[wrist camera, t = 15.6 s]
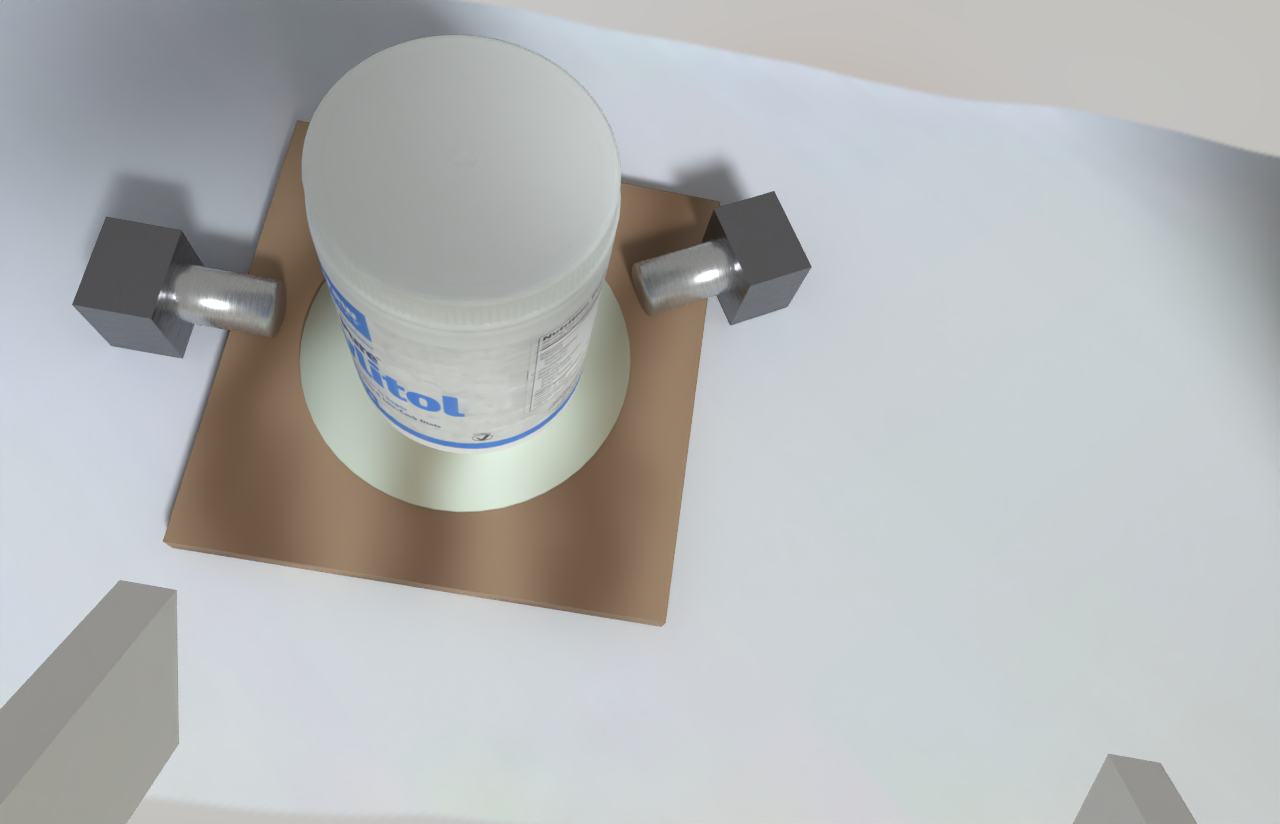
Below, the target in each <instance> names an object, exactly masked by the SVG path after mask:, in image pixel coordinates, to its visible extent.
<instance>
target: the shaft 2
mask: <svg viewBox="0 0 1280 824" xmlns="http://www.w3.org/2000/svg"><path fill="white" fill-rule="evenodd" d="M702 242H703V243H701V244H698V245H694V246H691V247H688V248H684V249H681V250H678V251H674V252H671V253H668V254H664V255H661V256H658V257H654V258H651V259H648V260H645V261H641V262H638V263H635V264H633V267H632V278H633V284H634V288H635V292H636V295H637V298H638V300H639V303H640V305H641V307H642V309H643V310H644V312H645V313H646V314H647V315H648V316H652V315H655V314H658V313H661V312H665V311H668V310H671V309H674V308H677V307H680V306H684V305H687V304H690V303H693V302H696V301H699V300H703V299H706V298H709V297H712V296H715V295H717V297H718V299H719V301H720V303H721V306H722V308H723V310H724V312H725V314H726V316H727V319H728V321H729V323H730V325H733V324H736V323H739V322H742V321H745V320H749V319H752V318H755V317H758V316H761V315H764V314H767V313H770V312H773V311H776V310H779V309H782V308H785V307H788V305H789V303H790V302H791V300H792V298H793V297H794V295H795V293H796V292H797V290H798V288H799V287H800V285H801V284H802V282H803V280H804V279H805V277H806V275H807V274H808V272H809V270H810V269H811V265H810V263H809V261H808V259H807V257H806V255H805V253H804V251H803V249H802V247H801V244H800V242H799V240H798V238H797V236H796V234H795V232H794V230H793V228H792V226H791V224H790V222H789V220H788V218H787V216H786V214H785V212H784V210H783V208H782V206H781V204H780V202H779V200H778V198H777V196H776V194H775V192H774V191H773V192H770V193H766V194H763V195H759V196H756V197H752V198H749V199H746V200H742V201H739V202H735V203H732V204H729V205H725V206H722V207H718V208H715V209H713V212H712V215H711V218H710V220H709V223H708V226H707V229H706V231H705V234H704V237H703V239H702Z"/></svg>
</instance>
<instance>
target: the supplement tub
mask: <svg viewBox="0 0 1280 824" xmlns="http://www.w3.org/2000/svg"><path fill="white" fill-rule="evenodd" d="M302 182H303V187H304V193H305V205H306V213H307V221H308V225H309V229H310V233H311V236H312V239H313V243H314V246H315V249H316V253H317V256H318V259H319V262H320V265H321V268H322V271H323V274H324V277H325V280H326V282H327V285H328V288H329V291H330V294H331V297H332V300H333V303H334V306H335V309H336V312H337V315H338V317H339V320H340V323H341V326H342V329H343V332H344V335H345V338H346V341H347V343H348V346H349V349H350V352H351V355H352V358H353V361H354V365H355V367H356V369H357V372H358V375H359V378H360V380H361V382H362V385H363V388H364V390H365V392H366V394H367V396H368V398H369V399H370V401H371V403H372V404H373V405H374V407H375V408H376V409H377V411H378V412H379V413H380V414H381V416H382V417H383V418H384V419H385V420H386V421H387V422H388V423H389V424H390V425H391V426H393V427H394V428H395V429H396V430H398V431H399V432H401V433H402V434H404V435H405V436H407V437H409V438H410V439H412V440H414V441H416V442H418V443H420V444H423V445H426V446H428V447H431V448H434V449H438V450H442V451H446V452H452V453H460V454H487V453H494V452H499V451H503V450H506V449H509V448H512V447H515V446H518V445H520V444H522V443H524V442H527V441H528V440H530V439H532V438H533V437H535V436H537V435H538V434H540V433H541V432H543V431H544V430H545V429H546V428H548V427H549V426H550V425H551V424H552V423H553V422H554V421H555V420H556V419H557V418H558V417H559V416H560V415H561V414H562V412H563V411H564V410H565V409H566V407H567V405H568V404H569V402H570V401H571V399H572V397H573V395H574V393H575V391H576V389H577V386H578V384H579V381H580V378H581V374H582V371H583V367H584V362H585V358H586V354H587V350H588V346H589V342H590V338H591V334H592V330H593V326H594V322H595V318H596V314H597V310H598V306H599V302H600V297H601V293H602V289H603V285H604V281H605V277H606V273H607V269H608V264H609V260H610V256H611V252H612V248H613V243H614V239H615V234H616V229H617V225H618V221H619V216H620V203H621V193H620V187H621V164H620V157H619V151H618V147H617V144H616V141H615V138H614V134H613V131H612V129H611V127H610V124H609V122H608V121H607V119H606V117H605V115H604V113H603V112H602V110H601V108H600V107H599V105H598V104H597V103H596V101H595V100H594V99H593V97H592V96H591V95H590V94H589V93H588V91H587V90H586V89H585V88H584V87H583V86H582V85H581V84H580V83H579V82H578V81H577V80H576V79H575V78H573V77H572V76H571V75H570V74H569V73H567V72H566V71H565V70H564V69H562V68H561V67H559V66H558V65H556V64H555V63H553V62H551V61H550V60H548V59H547V58H545V57H543V56H541V55H539V54H537V53H535V52H533V51H531V50H528V49H526V48H523V47H521V46H518V45H515V44H512V43H508V42H505V41H502V40H498V39H493V38H487V37H480V36H473V35H438V36H431V37H424V38H418V39H414V40H410V41H406V42H403V43H400V44H397V45H394V46H391V47H389V48H386V49H384V50H382V51H380V52H377V53H375V54H373V55H372V56H370V57H368V58H367V59H365V60H364V61H362V62H360V63H359V64H357V65H356V66H355V67H354V68H352V69H351V70H349V71H348V72H347V73H346V74H345V75H344V76H343V77H341V78H340V79H339V80H338V81H337V82H336V83H335V84H334V85H333V87H332V88H331V89H330V90H329V91H328V93H327V94H326V95H325V96H324V98H323V99H322V101H321V102H320V104H319V106H318V107H317V109H316V111H315V113H314V114H313V117H312V119H311V122H310V124H309V127H308V130H307V134H306V137H305V141H304V146H303V153H302Z"/></svg>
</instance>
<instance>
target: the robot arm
mask: <svg viewBox="0 0 1280 824" xmlns="http://www.w3.org/2000/svg"><path fill="white" fill-rule="evenodd" d="M178 744H179V727H178V656H177V590H173V589H167V588H162V587H156V586H150V585H145V584H139V583H133V582H128V581H122V580H120V581H119V582H118V583H117V584H116V585H115V586H114V587H113V588H112V589H111V590H110V591H109V593H108V594H107V595H106V596H105V597H104V598H103V599H102V600H101V601H100V602H99V603H98V604H97V605H96V607H95V608H94V609H93V610H92V611H91V612H90V613H89V614H88V615H87V616H86V617H85V618H84V620H83V621H82V622H81V623H80V624H79V625H78V626H77V627H76V628H75V629H74V630H73V631H72V632H71V634H70V635H69V636H68V637H67V638H66V639H65V640H64V641H63V642H62V643H61V644H60V645H59V647H58V648H57V649H56V650H55V651H54V652H53V653H52V654H51V655H50V656H49V657H48V658H47V659H46V661H45V662H44V663H43V664H42V665H41V666H40V667H39V668H38V669H37V670H36V671H35V672H34V674H33V675H32V676H31V677H30V678H29V679H28V680H27V681H26V682H25V683H24V684H23V685H22V686H21V688H20V689H19V690H18V691H17V692H16V693H15V694H14V695H13V696H12V697H11V698H10V699H9V701H8V702H7V703H6V704H5V705H4V706H3V707H2V708H1V709H0V824H126V823H127V821H128V820H129V819H130V817H131V816H132V814H133V812H134V811H135V809H136V808H137V806H138V805H139V803H140V802H141V800H142V799H143V797H144V796H145V794H146V793H147V791H148V790H149V788H150V787H151V785H152V783H153V782H154V780H155V779H156V777H157V776H158V774H159V773H160V771H161V770H162V768H163V767H164V765H165V764H166V762H167V761H168V759H169V757H170V756H171V754H172V753H173V751H174V750H175V748H176V747H177V745H178ZM1073 824H1197V822H1196V821H1195V819H1194V818H1193V816H1192V814H1191V813H1190V811H1189V809H1188V808H1187V806H1186V804H1185V803H1184V801H1183V799H1182V798H1181V796H1180V794H1179V793H1178V791H1177V789H1176V788H1175V786H1174V784H1173V783H1172V781H1171V779H1170V778H1169V776H1168V774H1167V773H1166V771H1165V769H1164V768H1163V766H1162V765H1161V763H1158V762H1152V761H1146V760H1140V759H1135V758H1129V757H1123V756H1118V755H1112V754H1108V756H1107V758H1106V760H1105V762H1104V764H1103V765H1102V767H1101V769H1100V771H1099V773H1098V775H1097V777H1096V779H1095V781H1094V783H1093V785H1092V787H1091V789H1090V791H1089V793H1088V795H1087V797H1086V799H1085V801H1084V803H1083V805H1082V807H1081V809H1080V811H1079V813H1078V815H1077V817H1076V819H1075V821H1074V823H1073Z"/></svg>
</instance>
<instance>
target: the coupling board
mask: <svg viewBox="0 0 1280 824" xmlns="http://www.w3.org/2000/svg"><path fill="white" fill-rule="evenodd" d="M309 124H310V123H308V122H303V121H297V123H296V126H295V129H294V132H293V135H292V139H291V142H290V145H289V148H288V151H287V154H286V157H285V160H284V164H283V167H282V170H281V173H280V176H279V179H278V182H277V185H276V189H275V192H274V195H273V198H272V201H271V204H270V207H269V210H268V214H267V217H266V220H265V223H264V226H263V229H262V232H261V236H260V239H259V242H258V245H257V248H256V251H255V254H254V257H253V261H252V264H251V267H250V270H249V273H248V275H252V276H257V277H263V278H268V279H274V280H279V281H283V282H284V284H285V287H286V295H287V300H286V310H285V316H284V320H283V323H282V326H281V328H280V331H279V332H278V334H277V335H276V336H275V337H274V338H270V337H264V336H259V335H253V334H247V333H242V332H236V331H231V330H230V333H229V336H228V339H227V342H226V345H225V348H224V351H223V354H222V358H221V361H220V364H219V367H218V370H217V373H216V376H215V380H214V383H213V386H212V389H211V392H210V395H209V398H208V401H207V405H206V408H205V411H204V414H203V417H202V420H201V423H200V426H199V430H198V433H197V436H196V439H195V442H194V445H193V448H192V452H191V455H190V458H189V461H188V464H187V467H186V470H185V473H184V477H183V480H182V483H181V486H180V489H179V492H178V495H177V498H176V502H175V505H174V508H173V511H172V514H171V517H170V520H169V523H168V527H167V530H166V533H165V536H164V539H163V542H165V543H166V544H168V545H169V546H171V547H172V548H178V549H184V550H190V551H196V552H203V553H209V554H215V555H221V556H227V557H234V558H240V559H246V560H252V561H258V562H264V563H271V564H277V565H283V566H289V567H295V568H302V569H308V570H314V571H320V572H326V573H333V574H339V575H345V576H351V577H357V578H364V579H370V580H376V581H382V582H388V583H395V584H401V585H407V586H413V587H419V588H426V589H432V590H438V591H444V592H450V593H457V594H463V595H469V596H475V597H481V598H487V599H494V600H500V601H506V602H512V603H518V604H525V605H531V606H537V607H543V608H549V609H556V610H562V611H568V612H574V613H580V614H587V615H593V616H599V617H605V618H611V619H618V620H624V621H630V622H636V623H642V624H649V625H655V626H662V625H664V624H665V623H666V616H667V608H668V600H669V593H670V585H671V577H672V569H673V562H674V554H675V546H676V539H677V531H678V523H679V515H680V508H681V500H682V492H683V484H684V477H685V469H686V461H687V454H688V446H689V438H690V430H691V423H692V415H693V407H694V400H695V392H696V384H697V376H698V369H699V361H700V353H701V346H702V338H703V330H704V322H705V315H706V307H707V299H708V298H706V299H703V300H699V301H696V302H693V303H690V304H687V305H684V306H680V307H677V308H674V309H671V310H668V311H665V312H661V313H658V314H655V315H652V316H648V315H647V314H646V313H645V312H644V310H643V309H642V307H641V305H640V303H639V300H638V298H637V295H636V292H635V288H634V284H633V278H632V267H633V264H635V263H638V262H641V261H645V260H648V259H651V258H654V257H658V256H661V255H664V254H668V253H671V252H674V251H678V250H681V249H684V248H688V247H691V246H694V245H698V244H701V243H703V242H702V239H703V237H704V234H705V231H706V229H707V226H708V223H709V220H710V218H711V215H712V212H713V209H715V208H718V207H720V202H719V201H713V200H708V199H703V198H698V197H693V196H687V195H682V194H677V193H672V192H667V191H661V190H656V189H651V188H646V187H641V186H635V185H630V184H625V183H621V187H620V193H621V203H620V216H619V221H618V225H617V229H616V234H615V239H614V243H613V248H612V252H611V256H610V260H609V264H608V269H607V273H606V277H605V281H604V285H603V289H602V293H601V297H600V302H599V306H598V310H597V314H596V318H595V322H594V326H593V330H592V334H591V338H590V342H589V346H588V350H587V354H586V358H585V362H584V367H583V371H582V374H581V378H580V381H579V384H578V386H577V389H576V391H575V393H574V395H573V397H572V399H571V401H570V402H569V404H568V405H567V407H566V409H565V410H564V411H563V412H562V414H561V415H560V416H559V417H558V418H557V419H556V420H555V421H554V422H553V423H552V424H551V425H550V426H549V427H548V428H546V429H545V430H544V431H543V432H541V433H540V434H538V435H537V436H535V437H533V438H532V439H530V440H528V441H527V442H524V443H522V444H520V445H518V446H515V447H512V448H509V449H506V450H503V451H499V452H494V453H487V454H460V453H452V452H446V451H442V450H438V449H434V448H431V447H428V446H426V445H423V444H420V443H418V442H416V441H414V440H412V439H410V438H409V437H407V436H405V435H404V434H402V433H401V432H399V431H398V430H396V429H395V428H394V427H393V426H391V425H390V424H389V423H388V422H387V421H386V420H385V419H384V418H383V417H382V416H381V414H380V413H379V412H378V411H377V409H376V408H375V407H374V405H373V404H372V403H371V401H370V399H369V398H368V396H367V394H366V392H365V390H364V388H363V385H362V382H361V380H360V378H359V375H358V372H357V369H356V367H355V365H354V361H353V358H352V355H351V352H350V349H349V346H348V343H347V341H346V338H345V335H344V332H343V329H342V326H341V323H340V320H339V317H338V315H337V312H336V309H335V306H334V303H333V300H332V297H331V294H330V291H329V288H328V285H327V282H326V280H325V277H324V274H323V271H322V268H321V265H320V262H319V259H318V256H317V253H316V249H315V246H314V243H313V239H312V236H311V233H310V229H309V225H308V221H307V213H306V205H305V193H304V187H303V182H302V153H303V146H304V141H305V137H306V134H307V130H308V127H309Z"/></svg>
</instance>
